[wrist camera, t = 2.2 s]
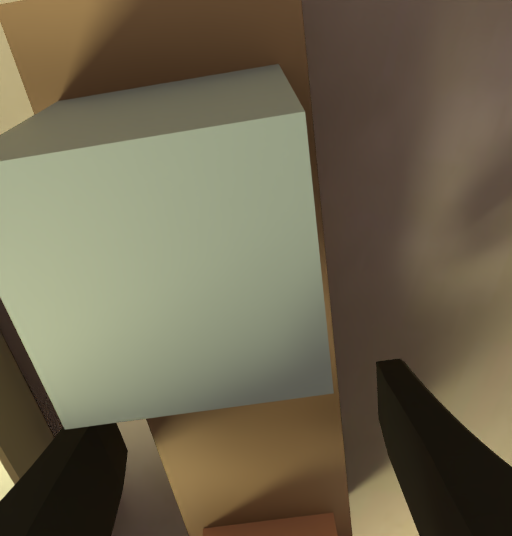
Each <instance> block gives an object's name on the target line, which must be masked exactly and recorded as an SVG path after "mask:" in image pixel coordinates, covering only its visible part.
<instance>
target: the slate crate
mask: <svg viewBox="0 0 512 536" xmlns="http://www.w3.org/2000/svg"><path fill="white" fill-rule="evenodd" d="M0 298H1V300H2V302H3V304H4V306H5V308H6V310H7V312H8V314H9V316H10V318H11V320H12V322H13V324H14V326H15V328H16V330H17V332H18V335H19V337H20V339H21V341H22V343H23V345H24V347H25V349H26V351H27V353H28V355H29V357H30V359H31V361H32V363H33V365H34V367H35V369H36V371H37V373H38V376H39V378H40V380H41V382H42V384H43V386H44V388H45V390H46V392H47V394H48V396H49V398H50V400H51V402H52V404H53V406H54V408H55V410H56V412H57V414H58V417H59V419H60V421H61V423H62V425H63V427H64V429H65V430H66V429H73V428H80V427H88V426H95V425H103V424H110V423H118V422H125V421H132V420H140V419H147V418H155V417H162V416H170V415H177V414H184V413H192V412H199V411H207V410H214V409H222V408H229V407H236V406H244V405H251V404H259V403H266V402H274V401H281V400H288V399H296V398H303V397H311V396H318V395H326V394H333V393H334V391H333V381H332V371H331V361H330V352H329V342H328V332H327V322H326V312H325V302H324V293H323V283H322V273H321V263H320V253H319V243H318V234H317V224H316V214H315V204H314V194H313V184H312V175H311V165H310V155H309V145H308V135H307V125H306V116H305V110H304V109H303V107H302V105H301V103H300V101H299V100H298V98H297V96H296V94H295V92H294V91H293V89H292V87H291V85H290V83H289V82H288V80H287V78H286V76H285V74H284V73H283V71H282V69H281V67H280V65H279V64H275V65H269V66H263V67H257V68H251V69H245V70H239V71H233V72H228V73H222V74H216V75H210V76H204V77H198V78H192V79H186V80H180V81H174V82H168V83H162V84H156V85H151V86H145V87H139V88H133V89H127V90H121V91H115V92H109V93H103V94H97V95H91V96H85V97H79V98H74V99H68V100H62V101H57V102H56V103H54V104H52V105H51V106H49V107H47V108H46V109H44V110H42V111H40V112H39V113H37V114H35V115H34V116H32V117H30V118H29V119H27V120H25V121H23V122H22V123H20V124H18V125H17V126H15V127H13V128H12V129H10V130H8V131H7V132H5V133H3V134H1V135H0Z"/></svg>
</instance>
